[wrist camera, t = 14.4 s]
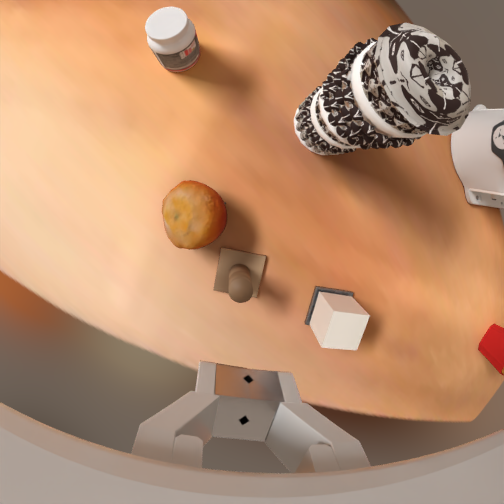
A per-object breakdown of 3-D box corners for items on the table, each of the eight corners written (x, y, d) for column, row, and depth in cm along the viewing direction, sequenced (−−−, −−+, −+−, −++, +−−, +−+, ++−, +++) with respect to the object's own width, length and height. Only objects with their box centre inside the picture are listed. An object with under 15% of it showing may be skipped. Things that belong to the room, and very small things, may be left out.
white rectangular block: (351, 296, 42) (369, 315, 35) (341, 327, 43) (356, 350, 37) (319, 291, 41) (333, 311, 35) (309, 324, 42) (321, 347, 36)
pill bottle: (209, 50, 33) (204, 16, 24) (182, 80, 34) (168, 52, 24) (178, 32, 32) (165, -3, 22) (151, 61, 33) (130, 31, 23)
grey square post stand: (352, 291, 43) (371, 310, 36) (340, 327, 44) (356, 350, 37) (315, 285, 42) (330, 305, 35) (304, 322, 43) (316, 347, 37)
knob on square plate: (265, 255, 40) (272, 271, 34) (256, 296, 42) (260, 318, 35) (221, 247, 40) (219, 261, 33) (213, 289, 41) (210, 310, 34)
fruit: (236, 252, 39) (198, 261, 32) (188, 237, 42) (147, 242, 35) (247, 189, 37) (211, 185, 30) (197, 180, 40) (157, 175, 33)
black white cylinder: (292, 88, 35) (372, -13, 11) (357, 100, 36) (481, 41, 12) (287, 152, 37) (375, 117, 13) (352, 162, 38) (489, 157, 14)
